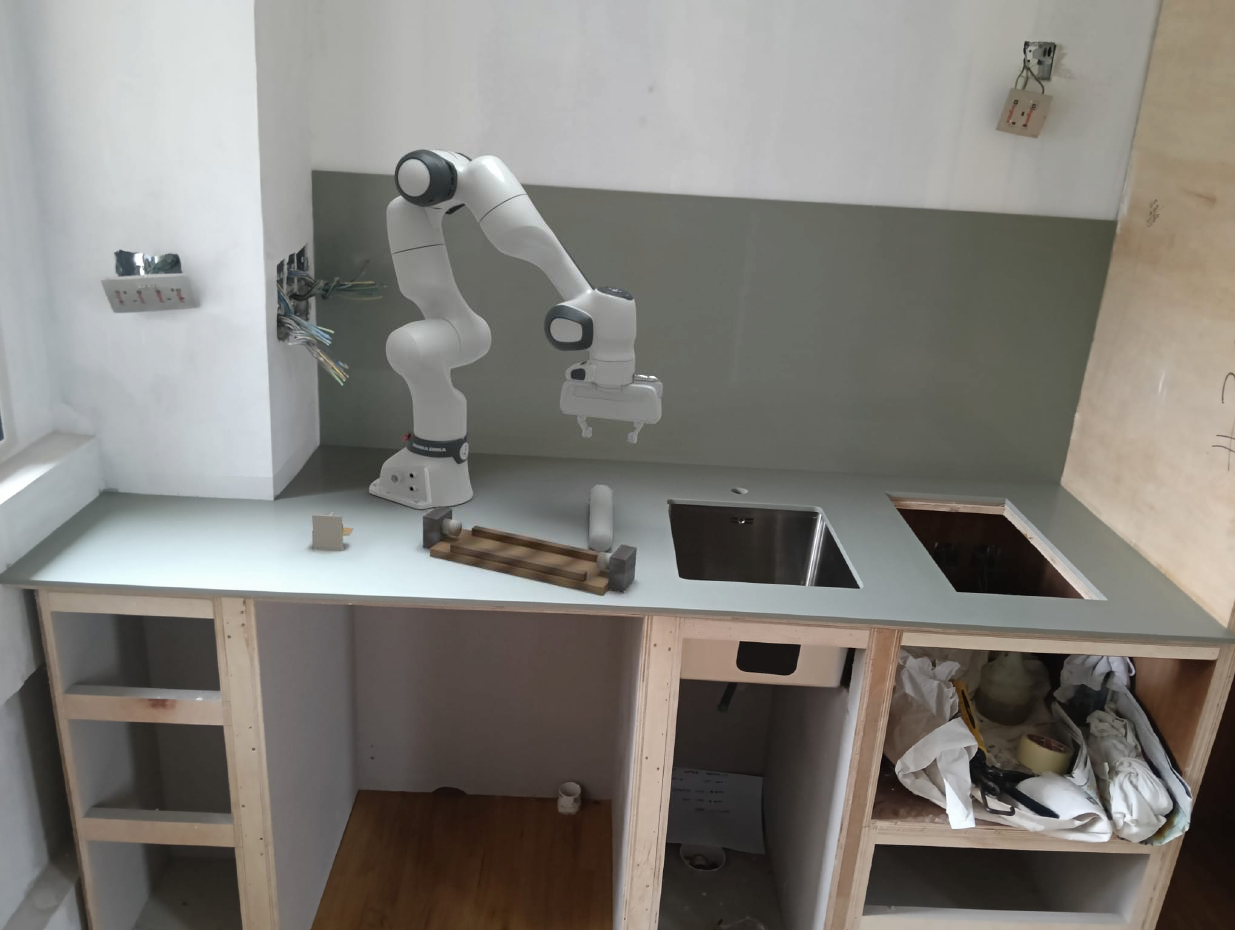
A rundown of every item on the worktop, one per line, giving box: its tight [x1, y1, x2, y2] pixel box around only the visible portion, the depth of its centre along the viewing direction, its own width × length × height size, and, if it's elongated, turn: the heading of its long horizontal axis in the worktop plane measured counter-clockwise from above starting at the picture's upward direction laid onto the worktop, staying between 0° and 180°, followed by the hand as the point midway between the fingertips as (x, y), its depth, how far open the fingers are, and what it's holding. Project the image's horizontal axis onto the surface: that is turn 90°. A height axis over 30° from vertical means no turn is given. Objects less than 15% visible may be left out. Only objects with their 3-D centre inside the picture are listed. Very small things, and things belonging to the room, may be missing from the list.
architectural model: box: [311, 511, 354, 551], centre depth 187 cm, size 3×7×7 cm, turn 91°
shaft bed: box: [422, 506, 638, 596], centre depth 186 cm, size 41×11×6 cm, turn 70°
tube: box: [588, 484, 614, 553], centre depth 203 cm, size 5×5×25 cm
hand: (609, 439), depth 197 cm, fingers open, 8 cm apart
